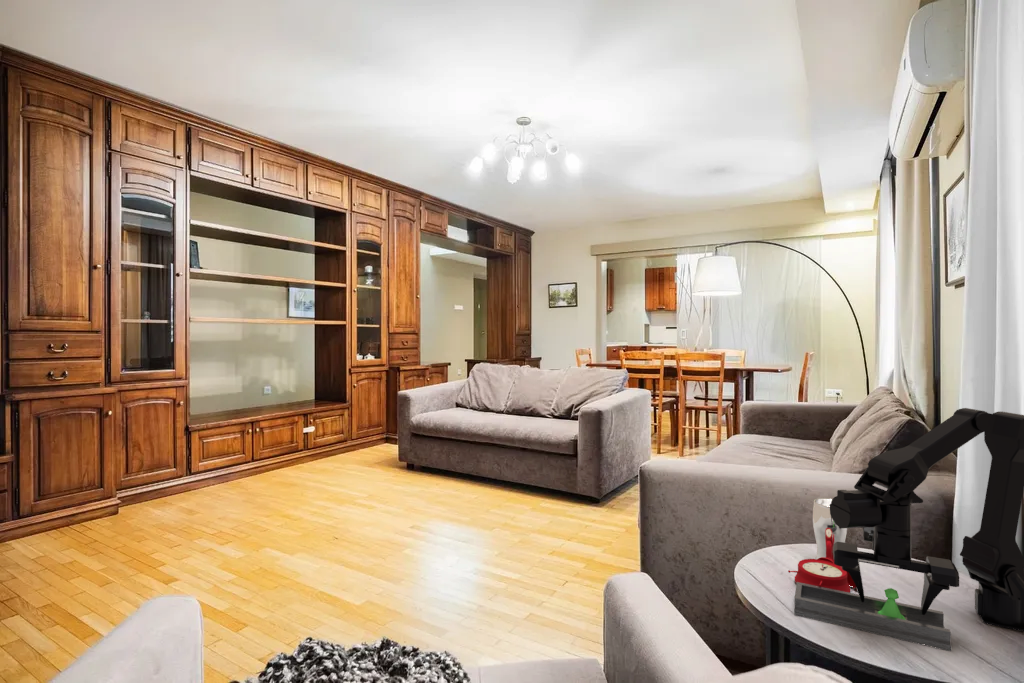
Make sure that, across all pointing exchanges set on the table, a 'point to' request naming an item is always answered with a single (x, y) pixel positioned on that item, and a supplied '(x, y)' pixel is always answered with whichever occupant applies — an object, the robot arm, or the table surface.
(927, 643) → the track
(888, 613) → the game piece
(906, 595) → the table surface
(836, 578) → the alarm clock
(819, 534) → the beer glass
